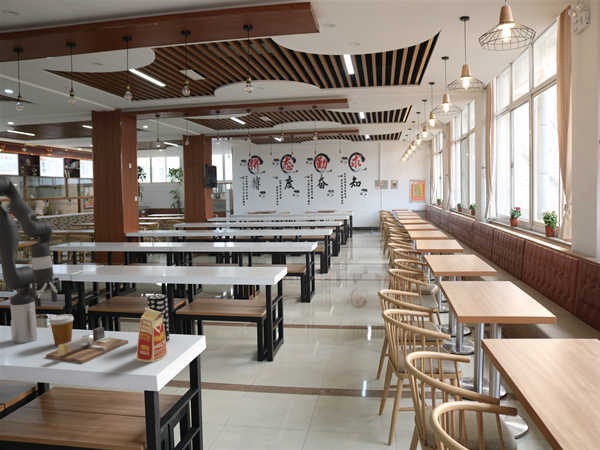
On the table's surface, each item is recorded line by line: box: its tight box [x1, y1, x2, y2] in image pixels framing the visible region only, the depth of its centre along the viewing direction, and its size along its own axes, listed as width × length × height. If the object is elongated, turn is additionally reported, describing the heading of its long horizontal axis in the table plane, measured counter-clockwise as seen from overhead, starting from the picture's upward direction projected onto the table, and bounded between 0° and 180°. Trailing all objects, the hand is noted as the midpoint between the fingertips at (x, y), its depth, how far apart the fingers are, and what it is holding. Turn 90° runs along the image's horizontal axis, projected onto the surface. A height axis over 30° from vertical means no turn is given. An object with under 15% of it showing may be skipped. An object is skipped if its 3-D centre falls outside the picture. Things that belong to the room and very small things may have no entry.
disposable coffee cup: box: [48, 313, 75, 347], centre depth 196 cm, size 10×10×12 cm
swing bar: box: [57, 333, 94, 355], centre depth 183 cm, size 15×4×4 cm, turn 158°
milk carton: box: [135, 307, 168, 363], centre depth 177 cm, size 9×9×20 cm
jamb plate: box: [45, 326, 129, 364], centre depth 188 cm, size 20×24×6 cm
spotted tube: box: [147, 293, 170, 343], centre depth 196 cm, size 8×8×20 cm
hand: (46, 304), depth 193 cm, fingers open, 8 cm apart
